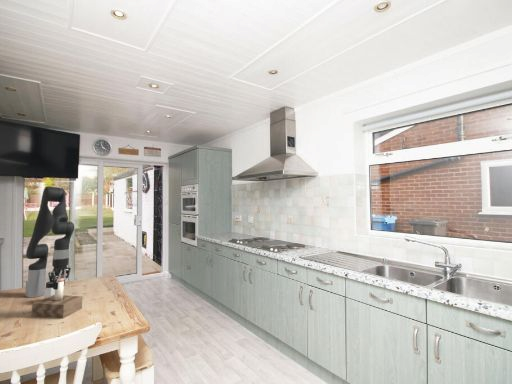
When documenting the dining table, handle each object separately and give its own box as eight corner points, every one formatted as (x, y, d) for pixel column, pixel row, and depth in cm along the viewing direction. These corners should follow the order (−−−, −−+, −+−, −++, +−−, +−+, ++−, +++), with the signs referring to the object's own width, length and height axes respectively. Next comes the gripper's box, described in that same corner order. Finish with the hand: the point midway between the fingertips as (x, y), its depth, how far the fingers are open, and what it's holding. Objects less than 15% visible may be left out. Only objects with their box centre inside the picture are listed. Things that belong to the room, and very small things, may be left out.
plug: (52, 303, 151) (53, 279, 152) (57, 300, 155) (59, 277, 156) (58, 303, 151) (60, 279, 152) (64, 301, 155) (66, 277, 155)
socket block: (31, 316, 146) (32, 303, 147) (52, 306, 160) (53, 294, 161) (63, 318, 145) (63, 304, 145) (81, 308, 159) (82, 296, 159)
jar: (58, 303, 166) (59, 283, 167) (42, 304, 163) (43, 284, 164) (62, 298, 174) (64, 279, 175) (47, 299, 172) (49, 280, 172)
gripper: (64, 254, 162) (62, 284, 161) (44, 259, 147) (41, 291, 147) (76, 255, 161) (74, 284, 160) (57, 260, 147) (54, 292, 146)
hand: (58, 287), depth 153 cm, fingers closed on plug, 4 cm apart
